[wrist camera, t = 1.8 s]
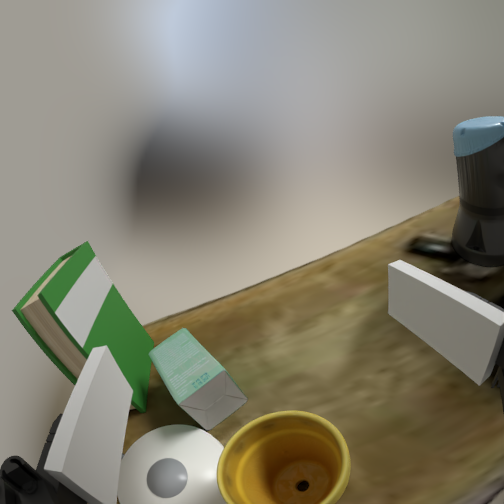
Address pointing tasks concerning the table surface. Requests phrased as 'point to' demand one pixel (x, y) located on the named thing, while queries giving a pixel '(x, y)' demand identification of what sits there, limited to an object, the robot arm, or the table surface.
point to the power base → (171, 468)
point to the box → (196, 379)
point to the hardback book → (86, 321)
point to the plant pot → (284, 461)
